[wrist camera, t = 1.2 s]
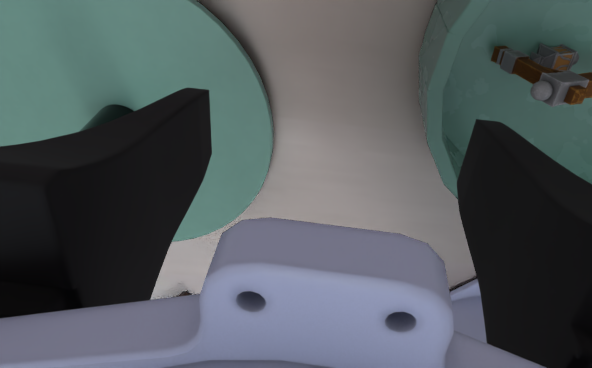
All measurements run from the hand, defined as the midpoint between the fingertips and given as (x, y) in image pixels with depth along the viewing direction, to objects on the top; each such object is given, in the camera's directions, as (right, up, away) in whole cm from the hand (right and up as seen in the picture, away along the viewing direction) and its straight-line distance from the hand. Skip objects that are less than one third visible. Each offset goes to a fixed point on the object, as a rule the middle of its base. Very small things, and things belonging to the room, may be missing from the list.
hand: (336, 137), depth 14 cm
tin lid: (-10, +2, +12) cm, 15 cm away
